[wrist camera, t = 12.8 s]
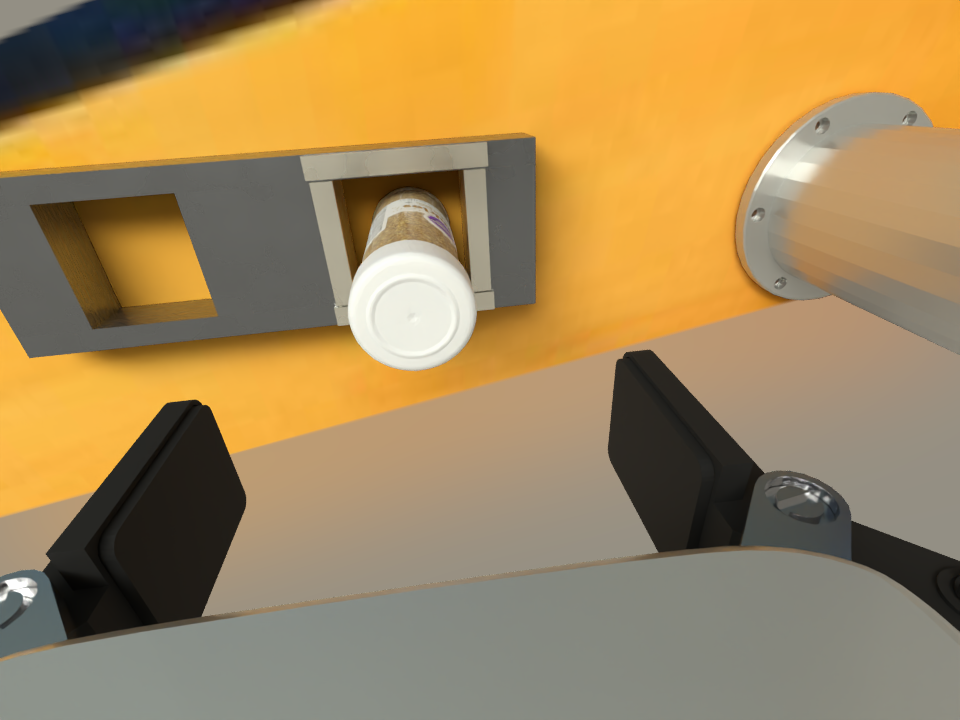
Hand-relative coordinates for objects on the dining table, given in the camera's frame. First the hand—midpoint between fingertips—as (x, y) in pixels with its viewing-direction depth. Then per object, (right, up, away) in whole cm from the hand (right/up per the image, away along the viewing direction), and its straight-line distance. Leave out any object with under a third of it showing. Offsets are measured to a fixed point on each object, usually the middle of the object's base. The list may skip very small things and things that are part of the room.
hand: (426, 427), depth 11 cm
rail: (-10, +9, +16) cm, 21 cm away
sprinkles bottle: (-3, +10, +17) cm, 20 cm away
